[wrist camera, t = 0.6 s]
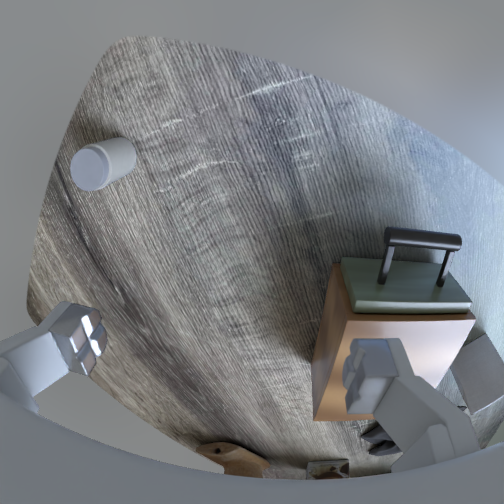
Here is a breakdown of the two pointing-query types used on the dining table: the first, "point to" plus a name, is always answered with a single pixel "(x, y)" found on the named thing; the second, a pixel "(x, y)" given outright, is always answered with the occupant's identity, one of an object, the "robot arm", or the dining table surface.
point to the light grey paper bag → (479, 374)
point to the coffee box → (327, 470)
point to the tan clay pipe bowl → (234, 459)
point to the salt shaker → (102, 163)
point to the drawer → (406, 278)
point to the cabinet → (376, 327)
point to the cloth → (384, 441)
